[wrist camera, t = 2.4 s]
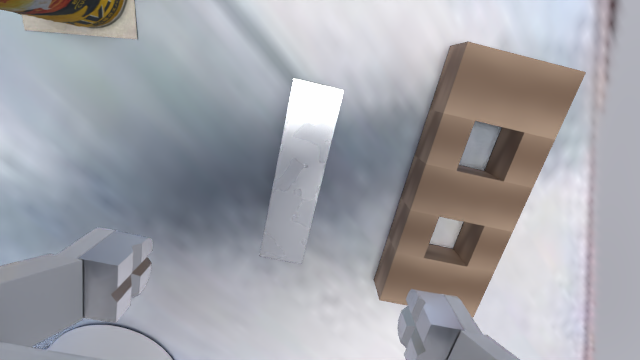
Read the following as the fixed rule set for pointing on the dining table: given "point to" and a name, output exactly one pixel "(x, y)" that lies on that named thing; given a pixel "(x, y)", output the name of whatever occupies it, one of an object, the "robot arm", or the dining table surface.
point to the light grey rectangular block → (300, 169)
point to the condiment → (77, 16)
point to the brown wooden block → (473, 171)
